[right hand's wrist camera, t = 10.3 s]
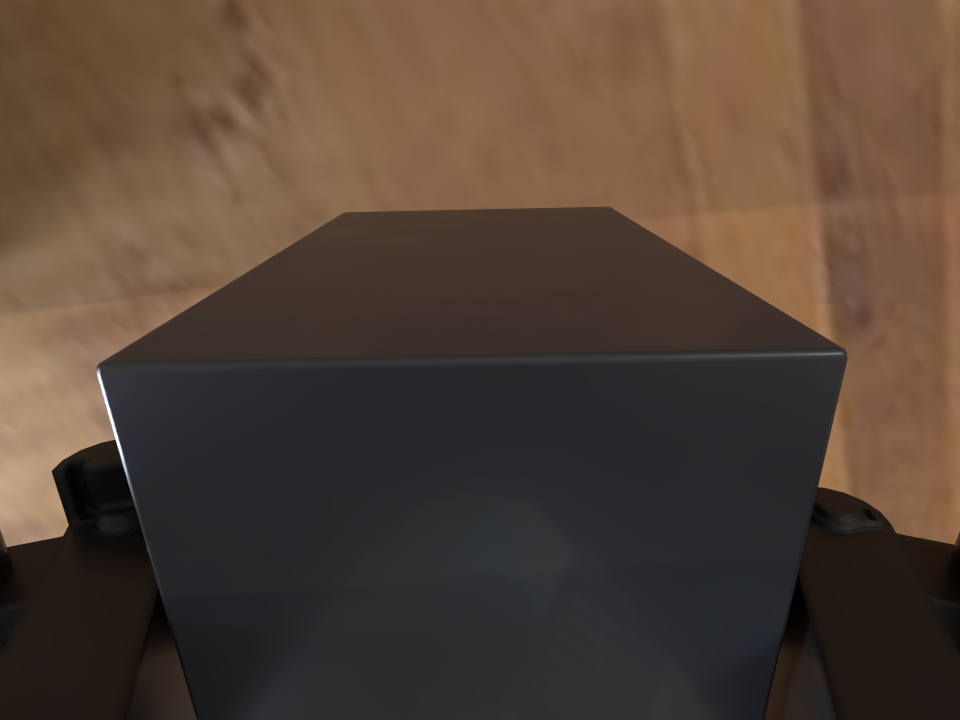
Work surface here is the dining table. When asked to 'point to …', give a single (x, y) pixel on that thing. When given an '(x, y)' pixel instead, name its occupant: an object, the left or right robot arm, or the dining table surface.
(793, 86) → the dining table surface
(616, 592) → the slate beam
